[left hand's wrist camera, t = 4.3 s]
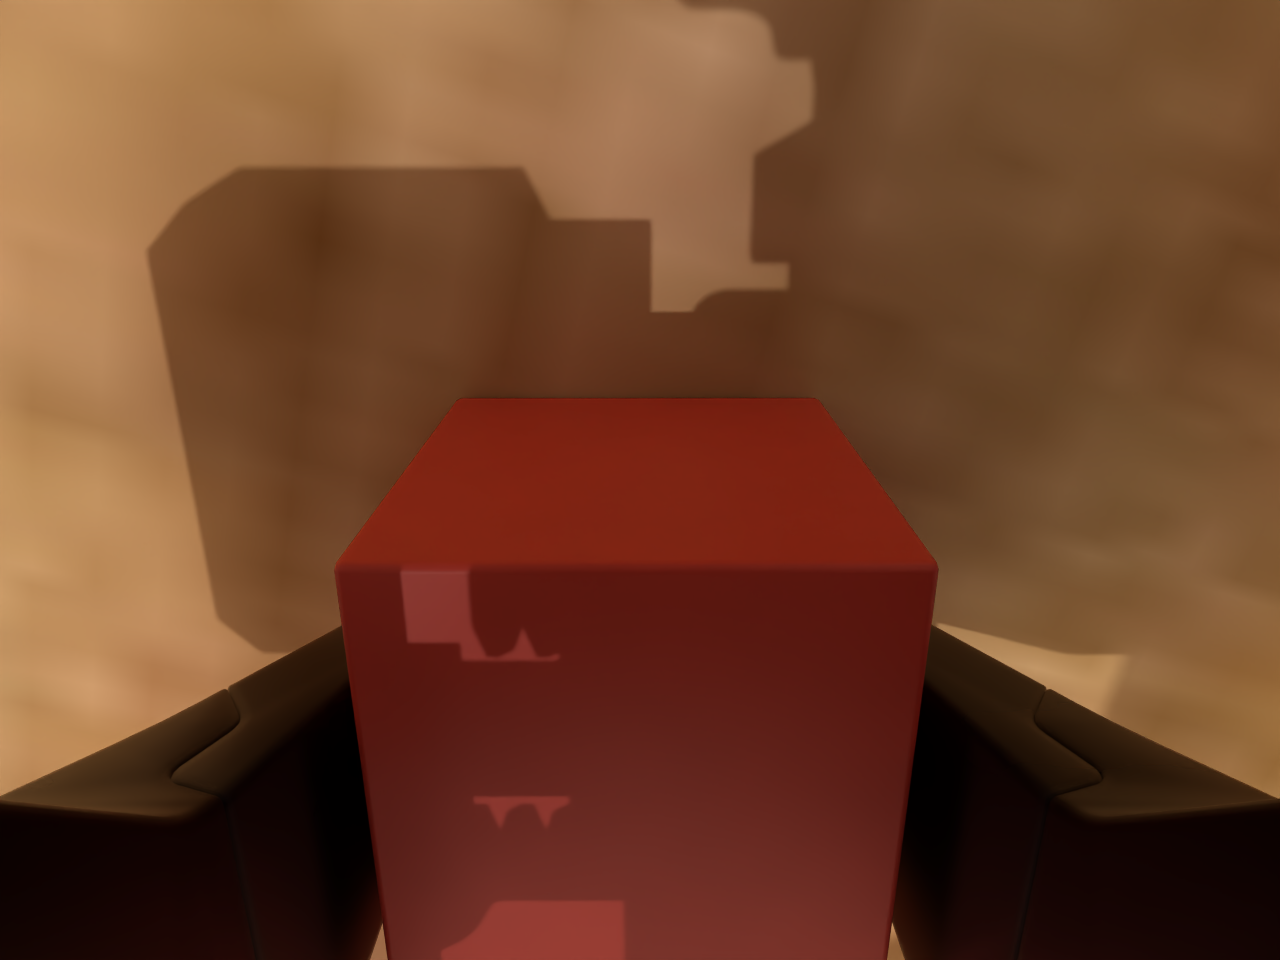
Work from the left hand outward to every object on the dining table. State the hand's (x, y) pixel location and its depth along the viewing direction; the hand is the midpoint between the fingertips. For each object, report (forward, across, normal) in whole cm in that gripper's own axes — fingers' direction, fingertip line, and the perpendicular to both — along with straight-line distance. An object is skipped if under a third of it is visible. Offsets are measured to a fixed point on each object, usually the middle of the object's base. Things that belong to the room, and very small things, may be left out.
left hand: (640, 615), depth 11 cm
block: (+1, 0, 0) cm, 1 cm away
